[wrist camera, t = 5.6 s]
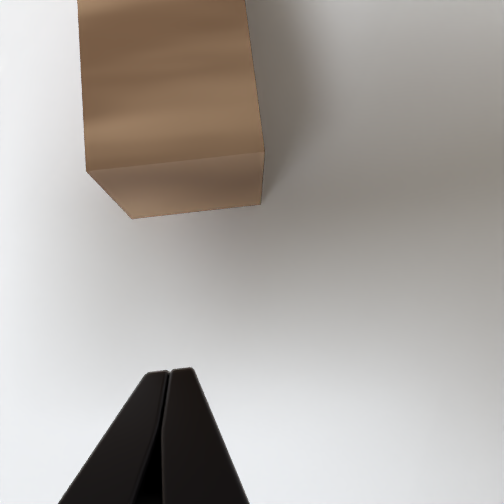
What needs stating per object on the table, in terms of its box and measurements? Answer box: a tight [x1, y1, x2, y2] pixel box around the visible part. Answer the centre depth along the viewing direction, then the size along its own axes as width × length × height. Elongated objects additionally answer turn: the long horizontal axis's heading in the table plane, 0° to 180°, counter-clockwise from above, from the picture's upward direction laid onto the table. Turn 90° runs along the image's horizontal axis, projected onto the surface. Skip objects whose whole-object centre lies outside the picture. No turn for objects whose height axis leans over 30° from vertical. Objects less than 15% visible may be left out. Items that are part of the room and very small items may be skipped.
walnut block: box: [77, 0, 265, 219], centre depth 16 cm, size 5×5×12 cm
